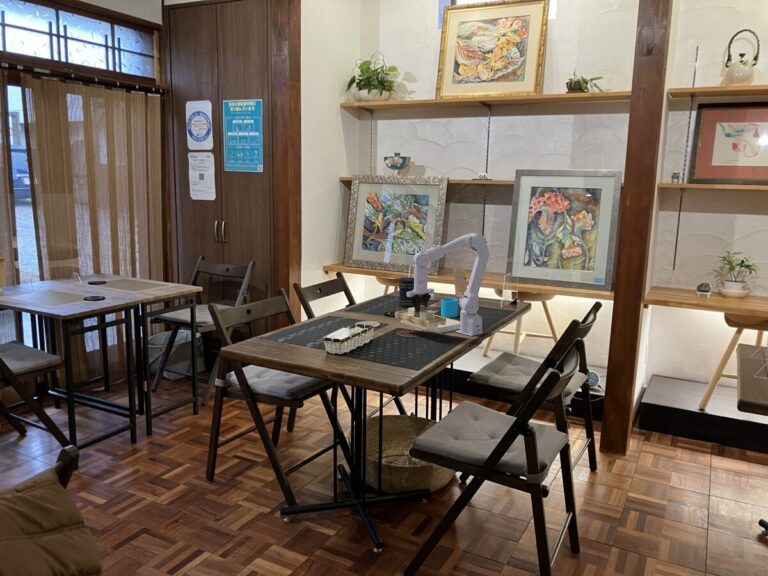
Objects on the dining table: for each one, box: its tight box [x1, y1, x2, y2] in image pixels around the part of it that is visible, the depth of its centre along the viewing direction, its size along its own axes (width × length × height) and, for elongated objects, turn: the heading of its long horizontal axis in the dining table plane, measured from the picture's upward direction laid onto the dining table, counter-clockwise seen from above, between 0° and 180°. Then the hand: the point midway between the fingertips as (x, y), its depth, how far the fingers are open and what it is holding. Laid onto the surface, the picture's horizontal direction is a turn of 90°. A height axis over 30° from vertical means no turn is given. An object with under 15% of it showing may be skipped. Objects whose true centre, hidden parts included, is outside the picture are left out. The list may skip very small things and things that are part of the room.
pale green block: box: [420, 309, 434, 320], centre depth 268 cm, size 4×4×3 cm
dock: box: [400, 314, 460, 334], centre depth 289 cm, size 26×16×3 cm, turn 40°
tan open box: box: [394, 304, 447, 328], centre depth 271 cm, size 22×10×7 cm, turn 40°
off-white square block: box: [407, 307, 415, 317], centre depth 274 cm, size 4×4×3 cm
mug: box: [440, 297, 459, 318], centre depth 311 cm, size 12×8×8 cm
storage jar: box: [398, 277, 414, 310], centre depth 329 cm, size 10×10×15 cm
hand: (420, 311), depth 271 cm, fingers closed on tan open box, 3 cm apart
